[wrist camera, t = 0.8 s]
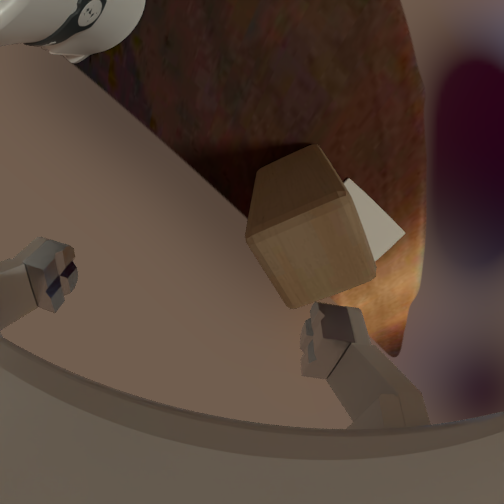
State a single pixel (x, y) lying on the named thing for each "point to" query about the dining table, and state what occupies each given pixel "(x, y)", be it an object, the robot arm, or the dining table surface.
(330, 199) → the wooden block
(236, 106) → the dining table surface
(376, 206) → the mat
